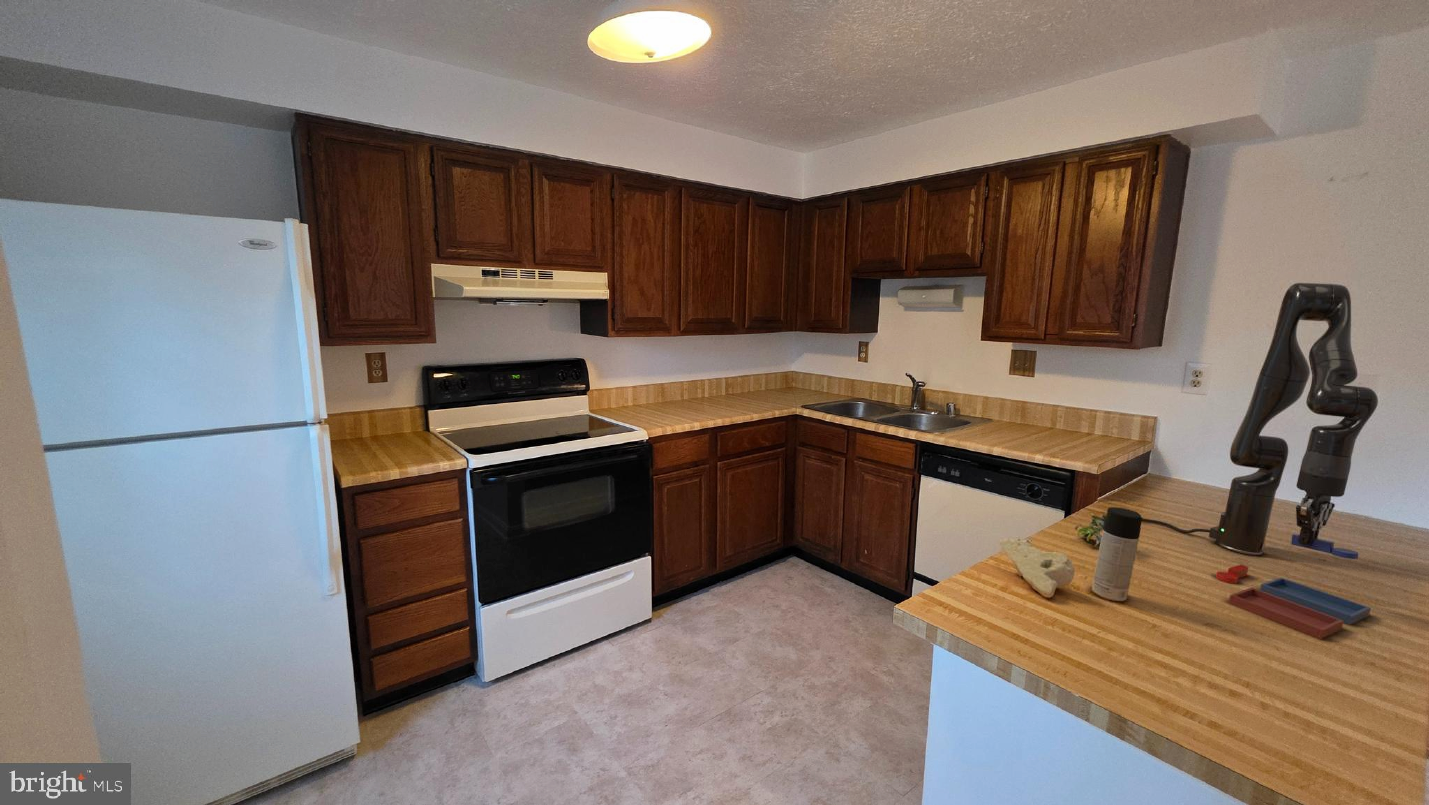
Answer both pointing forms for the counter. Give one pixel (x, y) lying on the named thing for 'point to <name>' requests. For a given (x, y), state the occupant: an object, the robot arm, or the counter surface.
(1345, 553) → the blue spoon
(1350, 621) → the blue tray
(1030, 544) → the bone fragment
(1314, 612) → the red tray
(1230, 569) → the red spoon
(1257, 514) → the robot arm
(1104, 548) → the spray can
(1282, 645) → the counter surface
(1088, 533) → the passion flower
